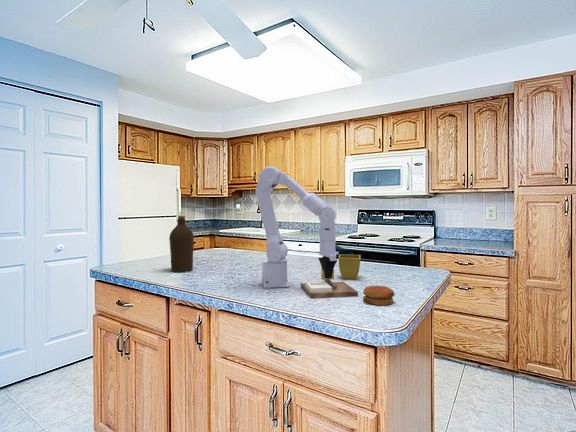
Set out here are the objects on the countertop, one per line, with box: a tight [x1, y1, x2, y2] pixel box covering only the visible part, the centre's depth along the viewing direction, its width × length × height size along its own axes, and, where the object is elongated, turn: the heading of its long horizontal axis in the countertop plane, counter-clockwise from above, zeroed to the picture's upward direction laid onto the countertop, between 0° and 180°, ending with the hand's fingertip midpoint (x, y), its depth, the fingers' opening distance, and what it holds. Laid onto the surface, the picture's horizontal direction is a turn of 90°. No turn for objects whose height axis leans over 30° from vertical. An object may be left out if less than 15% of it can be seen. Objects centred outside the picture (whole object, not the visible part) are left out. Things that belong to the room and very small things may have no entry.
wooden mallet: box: [320, 268, 337, 289], centre depth 126 cm, size 4×10×5 cm, turn 10°
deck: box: [300, 281, 359, 299], centre depth 124 cm, size 16×15×2 cm
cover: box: [304, 280, 332, 293], centre depth 122 cm, size 7×10×2 cm
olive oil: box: [168, 215, 195, 273], centre depth 163 cm, size 11×11×25 cm
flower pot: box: [337, 254, 361, 280], centre depth 147 cm, size 9×9×9 cm
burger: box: [362, 285, 395, 306], centre depth 112 cm, size 10×9×5 cm
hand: (327, 277), depth 130 cm, fingers closed on wooden mallet, 2 cm apart
